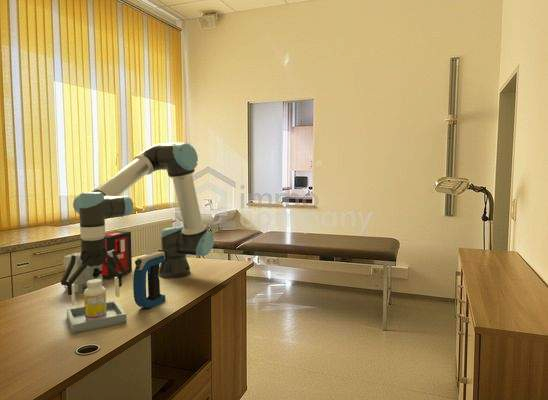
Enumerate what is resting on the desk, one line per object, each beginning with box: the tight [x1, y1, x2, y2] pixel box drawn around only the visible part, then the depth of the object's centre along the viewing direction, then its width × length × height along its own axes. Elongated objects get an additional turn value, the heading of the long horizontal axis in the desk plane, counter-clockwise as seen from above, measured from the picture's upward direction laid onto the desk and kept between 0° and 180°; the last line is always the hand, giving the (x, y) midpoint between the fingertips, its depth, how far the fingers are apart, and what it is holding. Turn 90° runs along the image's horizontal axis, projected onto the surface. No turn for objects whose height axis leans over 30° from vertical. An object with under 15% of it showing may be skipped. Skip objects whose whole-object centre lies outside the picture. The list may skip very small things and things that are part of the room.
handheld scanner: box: [132, 249, 168, 309], centre depth 141 cm, size 5×16×20 cm, turn 161°
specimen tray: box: [66, 299, 128, 335], centre depth 128 cm, size 16×16×3 cm
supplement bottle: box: [83, 279, 107, 321], centre depth 127 cm, size 7×7×13 cm
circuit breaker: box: [62, 252, 103, 294], centre depth 159 cm, size 8×14×15 cm, turn 78°
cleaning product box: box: [102, 230, 133, 281], centre depth 183 cm, size 16×9×20 cm, turn 164°
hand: (96, 300), depth 127 cm, fingers open, 13 cm apart
